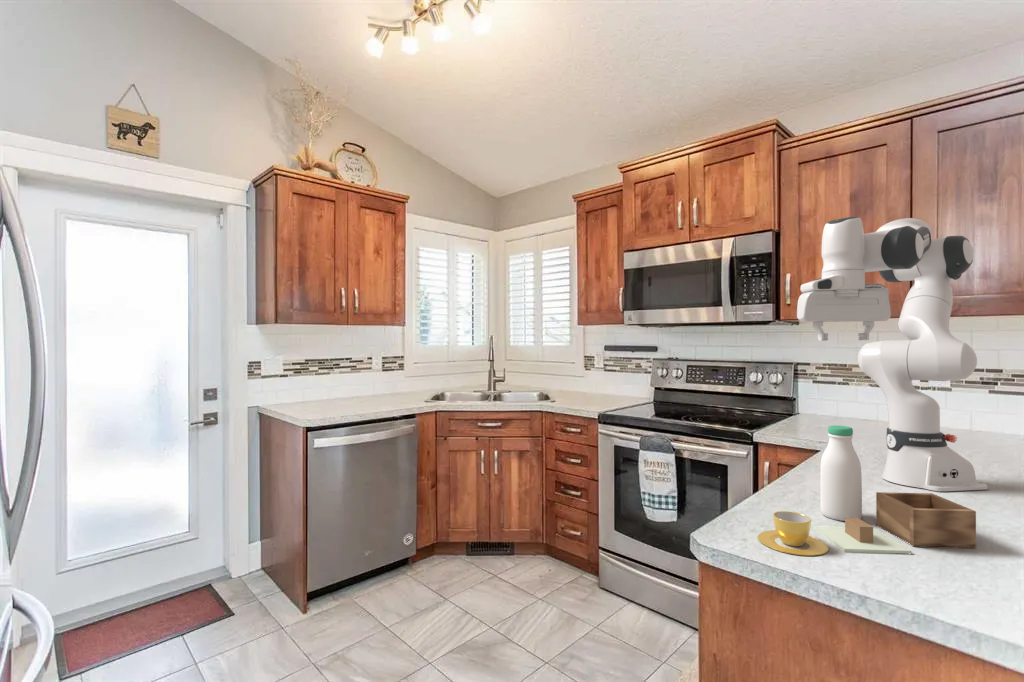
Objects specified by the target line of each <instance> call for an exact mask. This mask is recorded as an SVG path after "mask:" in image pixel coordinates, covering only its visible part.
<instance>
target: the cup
mask: <svg viewBox="0 0 1024 682" xmlns="http://www.w3.org/2000/svg"><path fill="white" fill-rule="evenodd" d="M772 518H773V519H772V520H773V525H774V529H775V530H765V531H762V532H760V533H759V534H758V535H757V539H758V541H759V542H760V543H761V544H762V545H764V546H766V547H768V548H770V549H773V550H776V551H777V552H781V553H786V554H790V555H797V556H806V557H807V556H809V557H810V556H821V555H824V554H826V553H828V551H829V546H828V545H827V543H825V542H824V541H822V540H821V539H818V538H816V537H814V536H812V535H810V531H811V525H812V518H811V517H809V516H807V515H806V514H803V513H799V512H795V511H789V510H788V511H786V510H781V511H776V512H772ZM778 538H779V540H780V541H781V543H783V544H784V545H787V546H790V547H801V546H803V545H804V544H805V543H807V544H808V545H809V547H808V548H805V549H798V548H797V549H795V548H789V547H785V546H783V545H780V544H778V543H777V542H776V539H778Z"/></svg>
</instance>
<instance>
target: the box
mask: <svg viewBox="0 0 1024 682" xmlns="http://www.w3.org/2000/svg"><path fill="white" fill-rule="evenodd" d="M875 494H876V496H875V498H876V502H875V503H876V510H875V511H876V512H875V513H876V519H875V520H876V526H877V527H878V528H880V527H881V528H880V529H883V531H885V530H886V531H885V532H887V531H888V533H889V532H890V533H889V534H891V535H892V534H893V535H892V536H894V535H895V536H894V537H896V536H897V537H896V538H898V537H899V538H901V539H902V540H901V539H900V540H901V541H903V540H904V541H906V542H908V543H910V544H911V545H913V546H926V547H925V548H938V547H958V548H957V549H977V511H976V510H973V509H971V508H969V507H966V506H964V505H962V504H958V503H957V502H954V501H951V500H949V499H947V498H944V497H942V496H939V495H937V494H934V493H932V492H931V493H929V492H925V493H924V492H922V493H921V492H884V491H883V492H881V491H880V492H878V491H876V492H875ZM899 538H898V539H899ZM904 541H903V542H904ZM906 542H905V543H906ZM908 543H907V544H908ZM910 544H909V545H910ZM911 545H910V546H911ZM913 546H912V547H913Z"/></svg>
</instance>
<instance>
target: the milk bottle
mask: <svg viewBox="0 0 1024 682" xmlns="http://www.w3.org/2000/svg"><path fill="white" fill-rule="evenodd" d="M827 433H828V434H827V435H828V438H829V439H828V443H827V446H826V448H825V449H824V452H823V453H822V455H821V459H820V470H819V471H820V477H819V479H820V480H819V481H820V483H819V484H820V485H819V486H820V487H819V488H820V489H819V490H820V497H819V499H820V501H819V502H820V506H819V507H820V513H821V514H822V516H824V517H827V518H828V519H832V520H836V521H841V522H845V518H859V519H860V520H862V518H863V488H862V487H863V482H862V480H863V479H862V465H861V461H860V457H859V456H858V454H857V452H856V450H855V447H854V445H853V441H852V439H853V437H854V436H853V434H854V430H853V428H852V427H850V426H846V425H828V427H827Z"/></svg>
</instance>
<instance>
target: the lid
mask: <svg viewBox="0 0 1024 682" xmlns="http://www.w3.org/2000/svg"><path fill="white" fill-rule="evenodd" d="M812 530H814V531H815V530H816V531H815V532H816V533H818V534H819V533H820V534H819V535H820V536H822V537H823V536H824V537H823V538H825V539H826V538H827V539H828V540H827V539H826V540H827V541H829V542H830V541H831V542H832V544H833V545H834V544H835V545H836V547H837V549H840V550H841V551H842V552H843V553H859V554H860V553H861V554H864V553H865V554H887V553H911V554H912V550H911V549H909V548H907V547H905V546H903V545H902V544H900V543H898V542H897V541H895V540H894V539H892V538H890V536H889V537H888V536H887V535H885V534H884V533H882V532H880V531H879V530H877V529H876V528H874V526H872V525H870V524H869V523H867V522H865V521H864V520H862V519H861V520H860V519H859V518H845V521H844V526H836V525H835V526H832V525H812ZM831 542H830V543H831ZM835 545H834V546H835Z"/></svg>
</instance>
